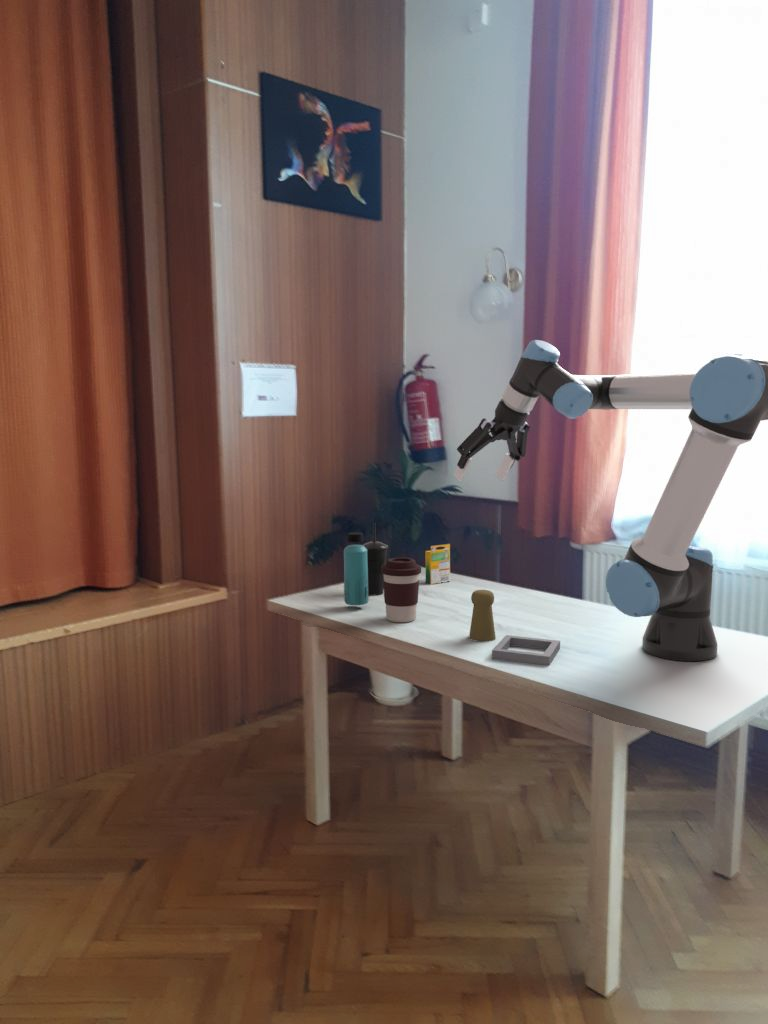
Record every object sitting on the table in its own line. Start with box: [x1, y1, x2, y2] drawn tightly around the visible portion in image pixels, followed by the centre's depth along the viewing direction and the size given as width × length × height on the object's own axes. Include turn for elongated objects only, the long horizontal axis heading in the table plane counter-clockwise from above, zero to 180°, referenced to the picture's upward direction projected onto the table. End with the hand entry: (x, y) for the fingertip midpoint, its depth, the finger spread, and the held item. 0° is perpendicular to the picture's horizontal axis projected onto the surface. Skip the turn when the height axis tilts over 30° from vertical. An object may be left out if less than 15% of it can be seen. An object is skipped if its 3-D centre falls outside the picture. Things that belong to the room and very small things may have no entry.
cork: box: [468, 589, 496, 642], centre depth 182 cm, size 6×6×11 cm
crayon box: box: [424, 543, 451, 585], centre depth 239 cm, size 7×3×12 cm, turn 122°
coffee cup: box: [381, 557, 422, 623], centre depth 198 cm, size 10×10×15 cm
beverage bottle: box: [343, 532, 370, 606], centre depth 209 cm, size 6×7×20 cm
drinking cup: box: [362, 522, 389, 596], centre depth 225 cm, size 8×8×20 cm
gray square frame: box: [491, 634, 561, 666], centre depth 171 cm, size 12×12×2 cm
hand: (478, 478), depth 196 cm, fingers open, 13 cm apart
